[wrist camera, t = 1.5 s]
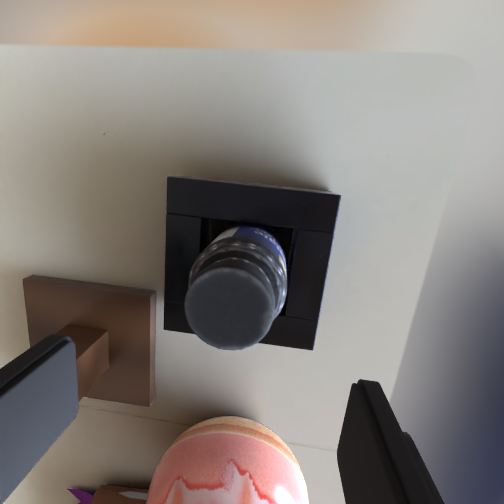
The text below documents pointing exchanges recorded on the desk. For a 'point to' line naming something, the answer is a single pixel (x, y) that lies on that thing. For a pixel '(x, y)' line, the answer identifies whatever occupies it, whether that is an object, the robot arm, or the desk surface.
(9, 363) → the robot arm
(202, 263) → the pill bottle
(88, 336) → the stand
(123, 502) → the book
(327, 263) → the holder
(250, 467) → the vase
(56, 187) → the desk surface
